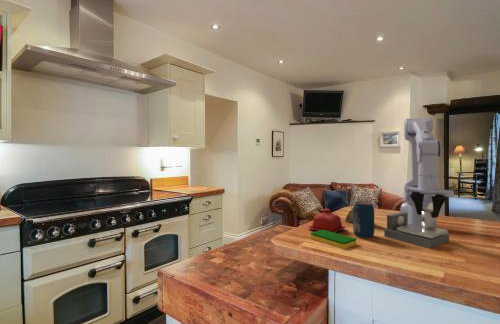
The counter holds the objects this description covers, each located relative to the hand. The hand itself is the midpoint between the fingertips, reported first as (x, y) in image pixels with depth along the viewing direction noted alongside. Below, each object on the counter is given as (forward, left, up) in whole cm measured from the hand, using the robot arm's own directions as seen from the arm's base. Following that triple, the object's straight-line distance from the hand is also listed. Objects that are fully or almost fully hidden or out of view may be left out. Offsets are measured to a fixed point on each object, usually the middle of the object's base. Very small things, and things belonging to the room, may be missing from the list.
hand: (427, 215), depth 95 cm
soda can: (-15, -13, -9) cm, 22 cm away
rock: (-28, +2, -9) cm, 29 cm away
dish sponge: (-17, -27, -9) cm, 33 cm away
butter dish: (-28, -18, -9) cm, 35 cm away
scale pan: (-2, -1, -6) cm, 6 cm away
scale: (-3, -1, -8) cm, 9 cm away
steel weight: (0, +1, -4) cm, 4 cm away
